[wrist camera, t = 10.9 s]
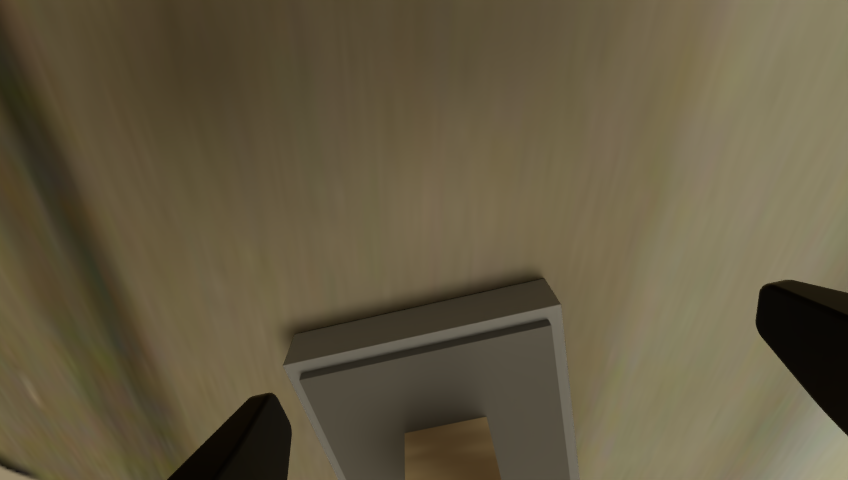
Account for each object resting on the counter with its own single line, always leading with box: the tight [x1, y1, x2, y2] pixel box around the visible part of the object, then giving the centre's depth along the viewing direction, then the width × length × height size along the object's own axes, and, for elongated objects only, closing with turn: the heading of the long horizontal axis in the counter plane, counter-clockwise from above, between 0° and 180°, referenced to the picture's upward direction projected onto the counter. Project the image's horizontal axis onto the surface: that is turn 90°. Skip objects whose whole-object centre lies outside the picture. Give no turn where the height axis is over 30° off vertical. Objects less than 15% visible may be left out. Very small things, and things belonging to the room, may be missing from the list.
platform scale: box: [283, 279, 580, 480], centre depth 24 cm, size 14×16×3 cm
